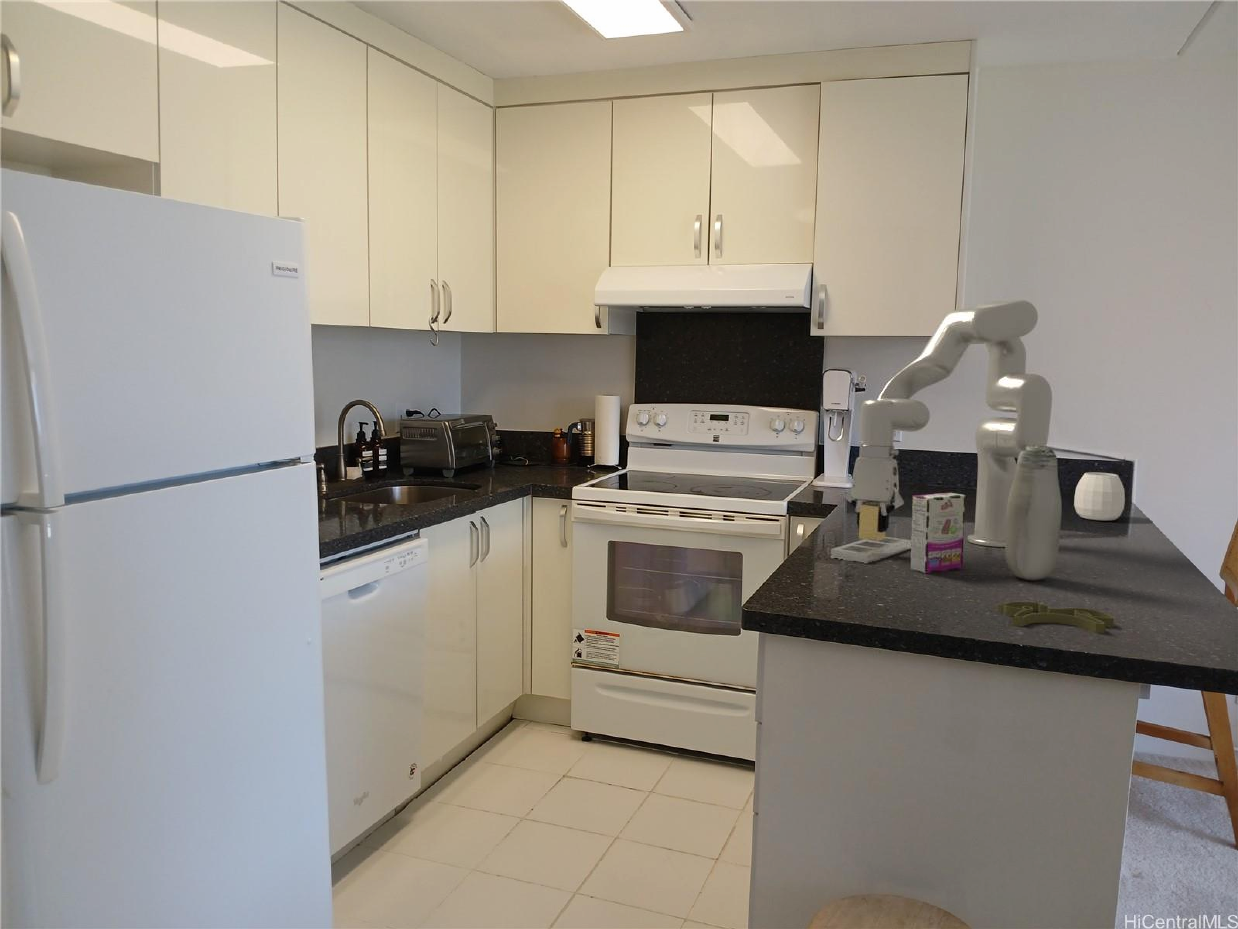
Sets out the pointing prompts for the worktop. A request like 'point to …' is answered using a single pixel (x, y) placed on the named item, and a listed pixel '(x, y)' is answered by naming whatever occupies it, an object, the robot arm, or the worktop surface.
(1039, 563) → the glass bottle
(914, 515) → the candy bar box
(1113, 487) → the white faceted vase
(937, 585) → the worktop surface
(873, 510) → the tan hollow block
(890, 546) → the white rectangular frame
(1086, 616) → the cookie cutter
